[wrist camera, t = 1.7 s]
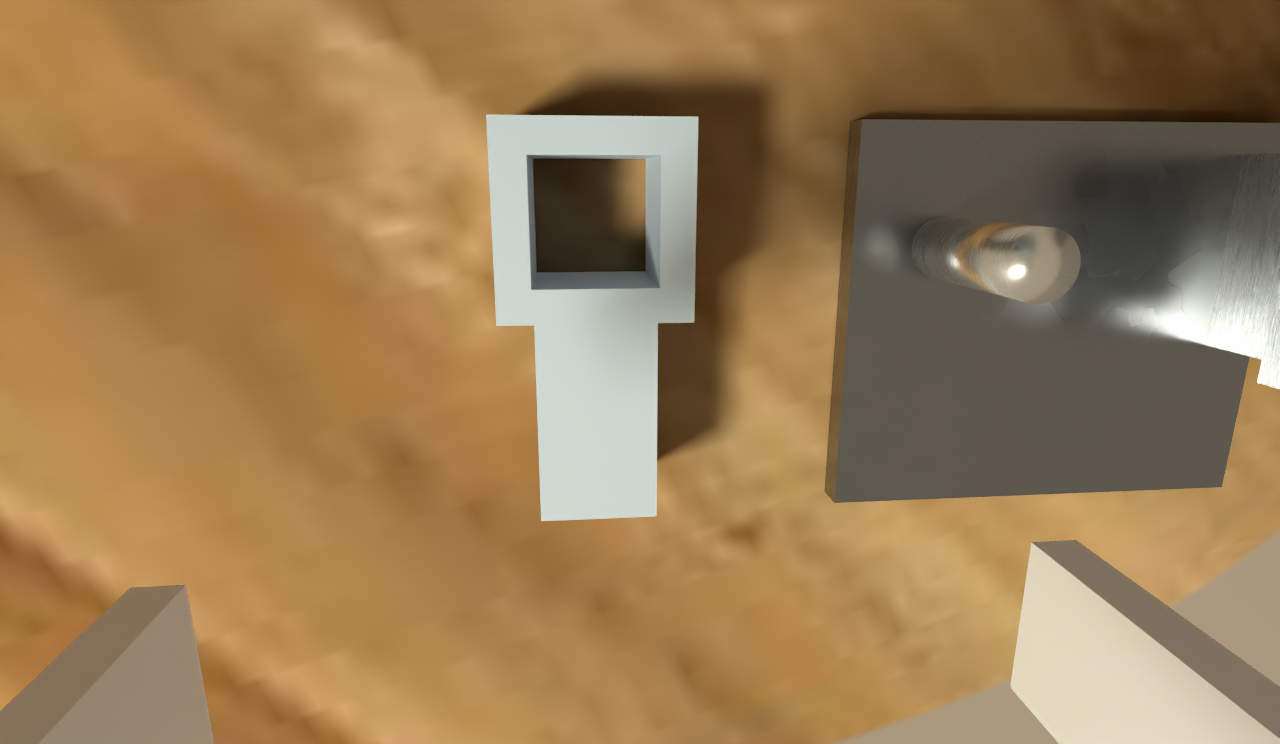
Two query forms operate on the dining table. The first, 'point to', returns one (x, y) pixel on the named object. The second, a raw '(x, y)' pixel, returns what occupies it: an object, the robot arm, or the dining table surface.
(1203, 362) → the keeper plate
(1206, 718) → the robot arm
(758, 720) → the dining table surface
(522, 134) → the link
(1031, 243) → the cylinder
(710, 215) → the dining table surface
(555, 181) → the dining table surface
